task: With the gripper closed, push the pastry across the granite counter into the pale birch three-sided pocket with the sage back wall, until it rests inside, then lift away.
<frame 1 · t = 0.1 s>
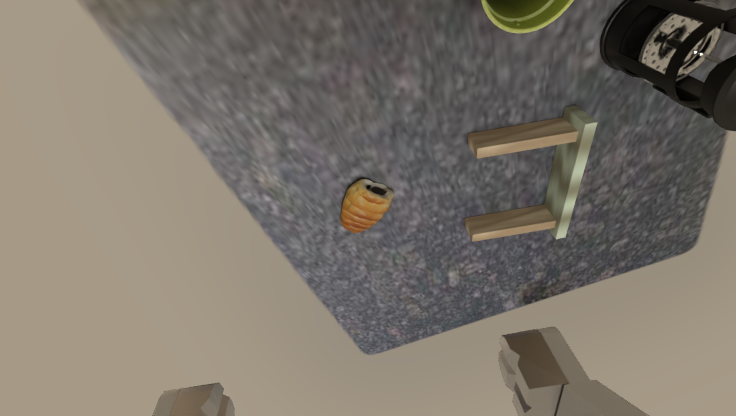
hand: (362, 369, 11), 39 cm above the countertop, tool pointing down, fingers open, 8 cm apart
pastry: (365, 199, 57), on the countertop
french press: (639, 33, 45), on the countertop
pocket: (508, 176, 56), on the countertop
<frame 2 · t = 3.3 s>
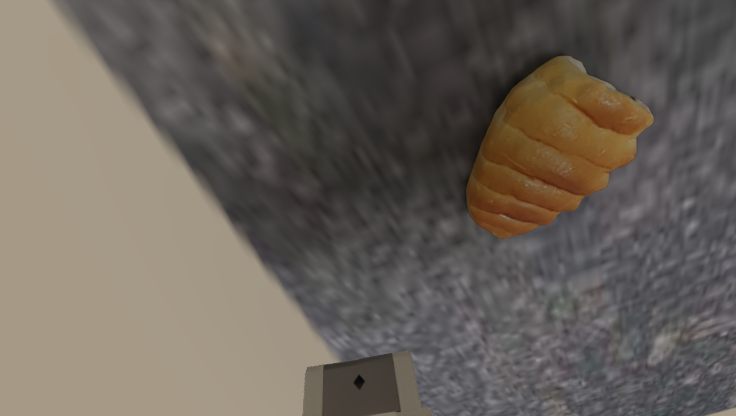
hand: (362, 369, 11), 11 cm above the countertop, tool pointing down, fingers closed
pastry: (537, 138, 20), on the countertop
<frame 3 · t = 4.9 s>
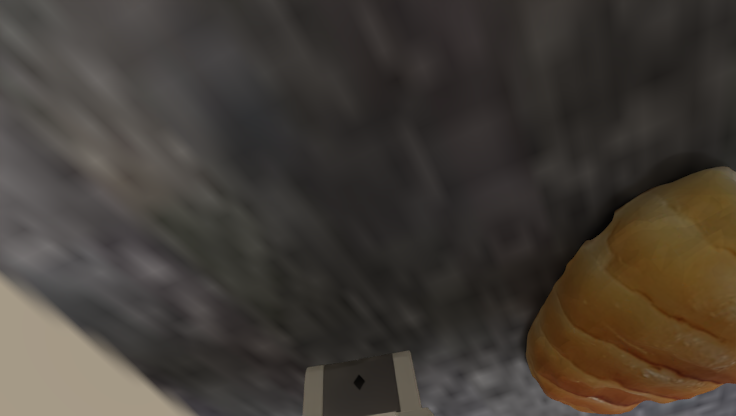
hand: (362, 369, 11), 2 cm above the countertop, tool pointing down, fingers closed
pastry: (639, 267, 13), on the countertop
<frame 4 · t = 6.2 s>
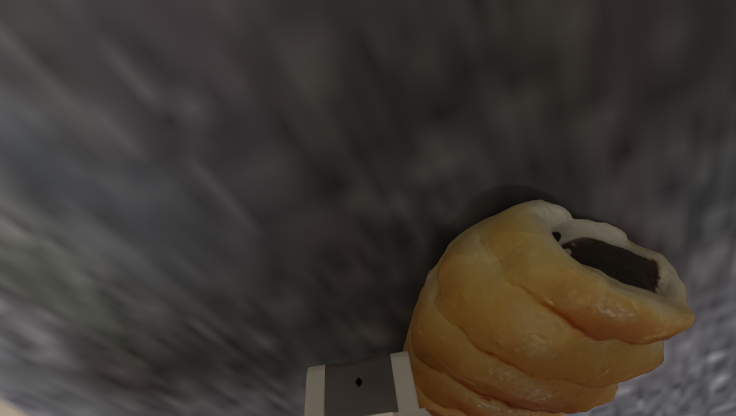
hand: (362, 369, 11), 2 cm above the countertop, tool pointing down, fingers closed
pastry: (504, 292, 13), on the countertop, touching gripper
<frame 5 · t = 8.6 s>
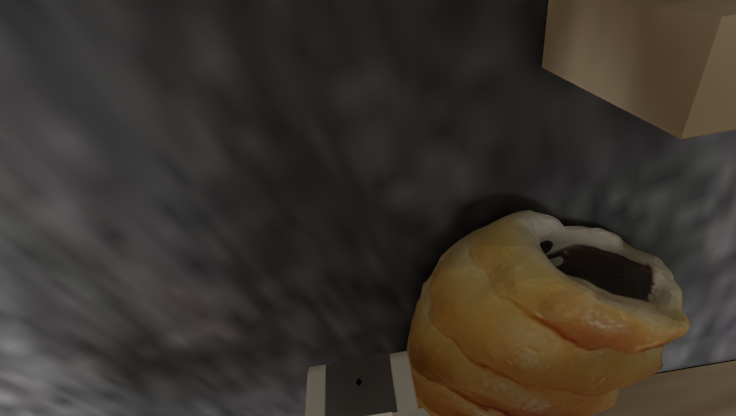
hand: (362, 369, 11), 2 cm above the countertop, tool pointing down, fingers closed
pastry: (502, 299, 13), on the countertop, touching gripper
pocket: (718, 251, 12), on the countertop
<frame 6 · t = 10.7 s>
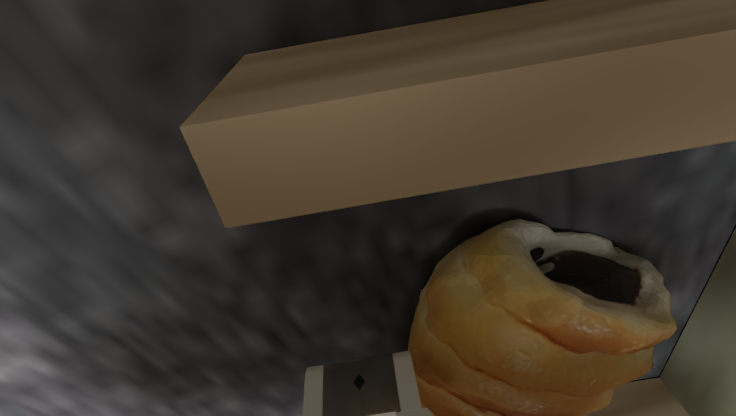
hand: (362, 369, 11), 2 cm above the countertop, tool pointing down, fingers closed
pastry: (499, 302, 13), on the countertop
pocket: (523, 289, 12), on the countertop
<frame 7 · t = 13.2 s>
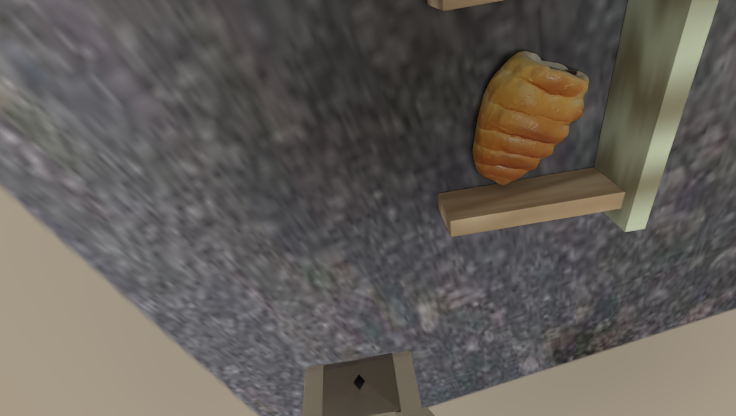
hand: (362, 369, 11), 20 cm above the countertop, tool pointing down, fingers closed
pastry: (518, 109, 28), on the countertop
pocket: (521, 97, 27), on the countertop
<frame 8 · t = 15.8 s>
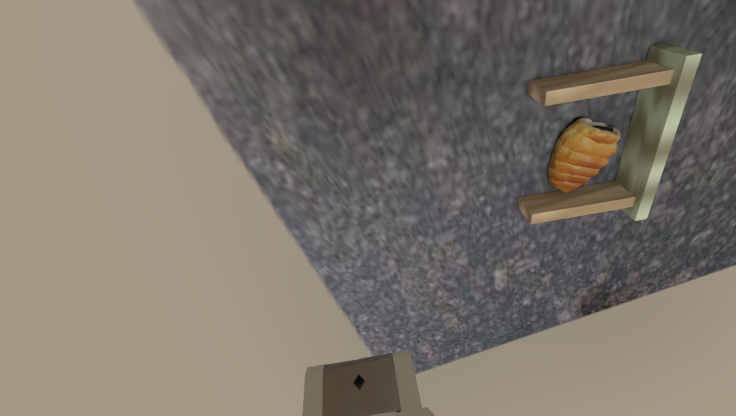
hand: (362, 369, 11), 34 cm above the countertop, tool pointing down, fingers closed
pastry: (576, 147, 47), on the countertop
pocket: (575, 141, 46), on the countertop
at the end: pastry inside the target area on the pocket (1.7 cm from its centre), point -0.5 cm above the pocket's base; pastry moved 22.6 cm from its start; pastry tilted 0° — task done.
